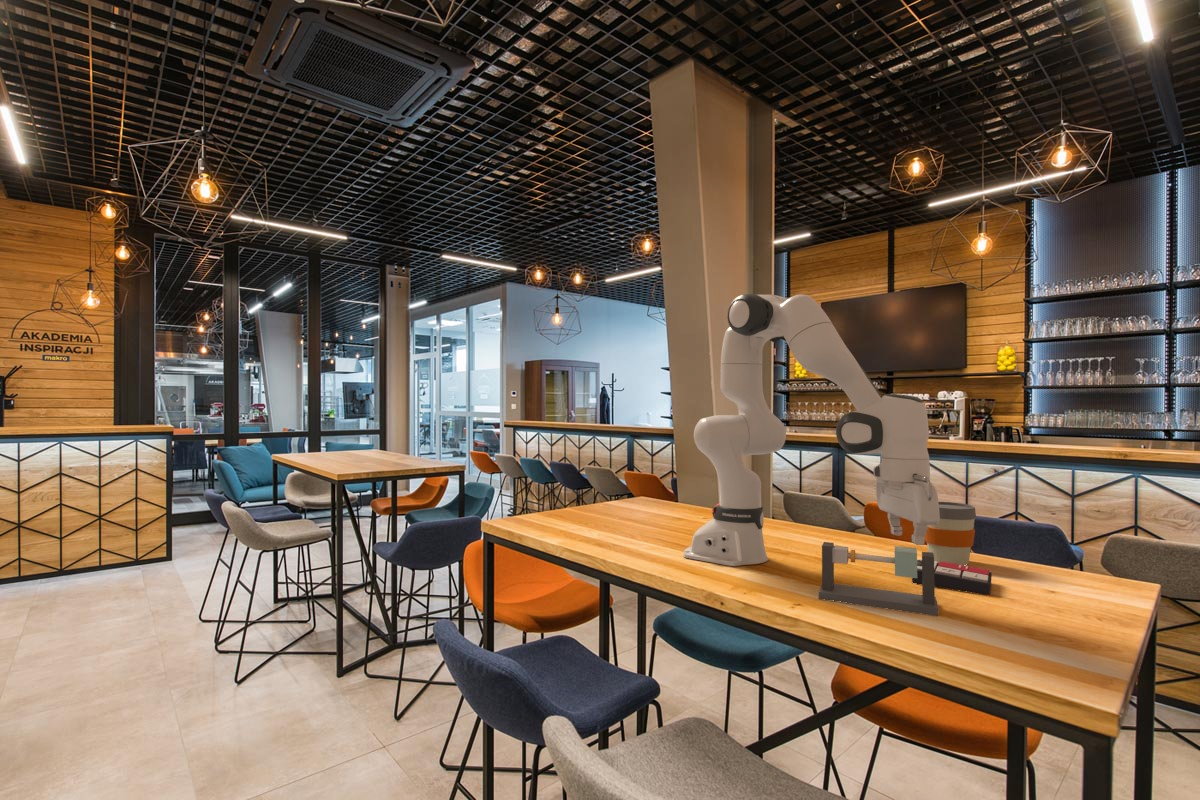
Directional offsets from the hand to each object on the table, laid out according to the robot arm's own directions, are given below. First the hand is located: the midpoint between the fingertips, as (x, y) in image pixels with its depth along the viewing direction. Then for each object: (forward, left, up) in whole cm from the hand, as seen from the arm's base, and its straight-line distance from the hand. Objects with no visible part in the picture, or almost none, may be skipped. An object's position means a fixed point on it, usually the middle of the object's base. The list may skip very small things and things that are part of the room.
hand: (906, 539), depth 118 cm
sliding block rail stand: (-6, 0, -14) cm, 15 cm away
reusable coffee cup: (+10, +44, -14) cm, 48 cm away
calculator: (+9, +23, -14) cm, 28 cm away
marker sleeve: (0, 0, -7) cm, 7 cm away
